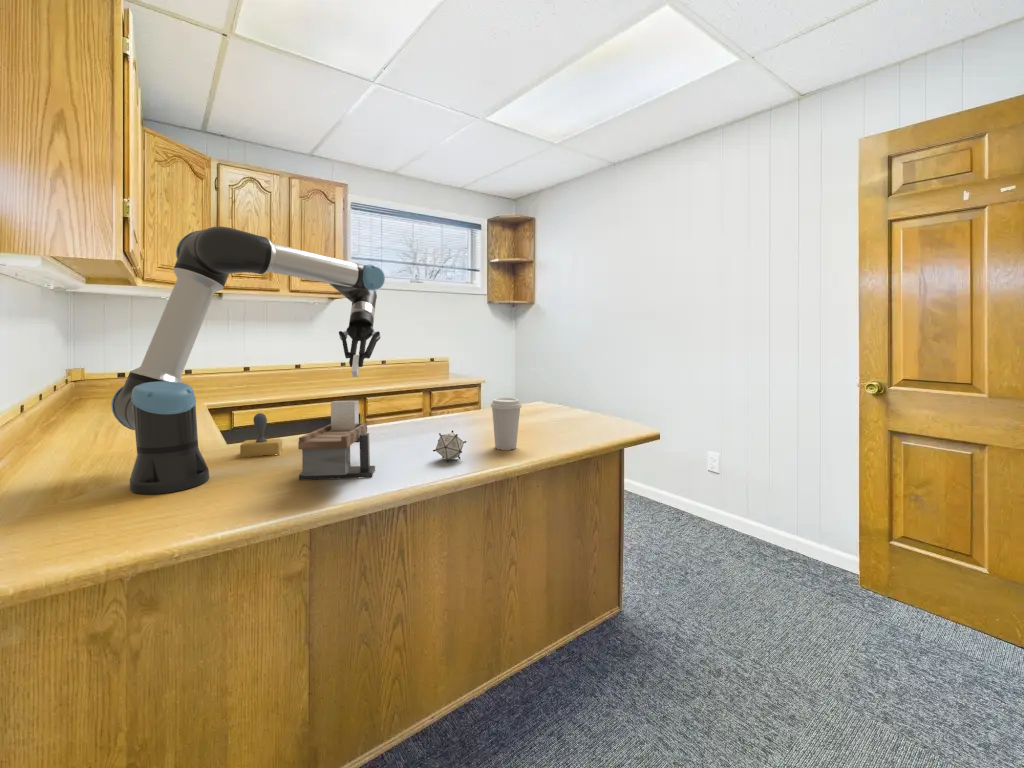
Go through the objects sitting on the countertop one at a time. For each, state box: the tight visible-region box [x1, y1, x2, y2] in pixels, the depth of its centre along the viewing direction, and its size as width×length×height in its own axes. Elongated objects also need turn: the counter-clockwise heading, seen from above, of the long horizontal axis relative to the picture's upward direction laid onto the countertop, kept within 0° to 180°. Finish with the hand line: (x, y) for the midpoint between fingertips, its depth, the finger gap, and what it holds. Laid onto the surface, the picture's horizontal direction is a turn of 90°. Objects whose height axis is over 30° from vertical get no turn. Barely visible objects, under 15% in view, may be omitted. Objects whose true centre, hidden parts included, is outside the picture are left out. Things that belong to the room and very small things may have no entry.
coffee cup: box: [490, 397, 523, 451], centre depth 148 cm, size 10×10×15 cm
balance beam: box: [297, 422, 368, 476], centre depth 120 cm, size 30×10×8 cm, turn 8°
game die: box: [432, 429, 467, 464], centre depth 135 cm, size 9×8×10 cm
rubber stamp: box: [239, 412, 284, 458], centre depth 139 cm, size 10×6×12 cm, turn 106°
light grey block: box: [330, 400, 360, 431], centre depth 130 cm, size 6×6×8 cm
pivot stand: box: [298, 432, 376, 480], centre depth 120 cm, size 6×17×10 cm, turn 98°
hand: (354, 374), depth 145 cm, fingers closed
